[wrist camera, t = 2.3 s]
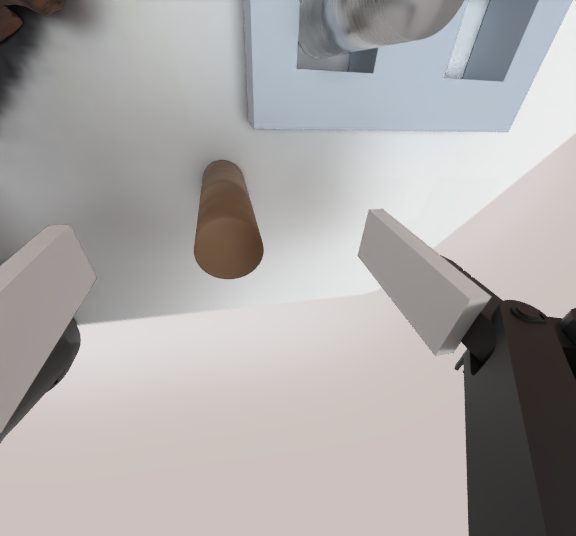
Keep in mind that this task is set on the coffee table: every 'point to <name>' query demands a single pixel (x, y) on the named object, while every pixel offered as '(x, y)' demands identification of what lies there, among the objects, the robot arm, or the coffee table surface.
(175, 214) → the coffee table surface
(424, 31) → the grey steel peg
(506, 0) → the socket block
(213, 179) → the walnut peg
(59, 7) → the pottery mug
